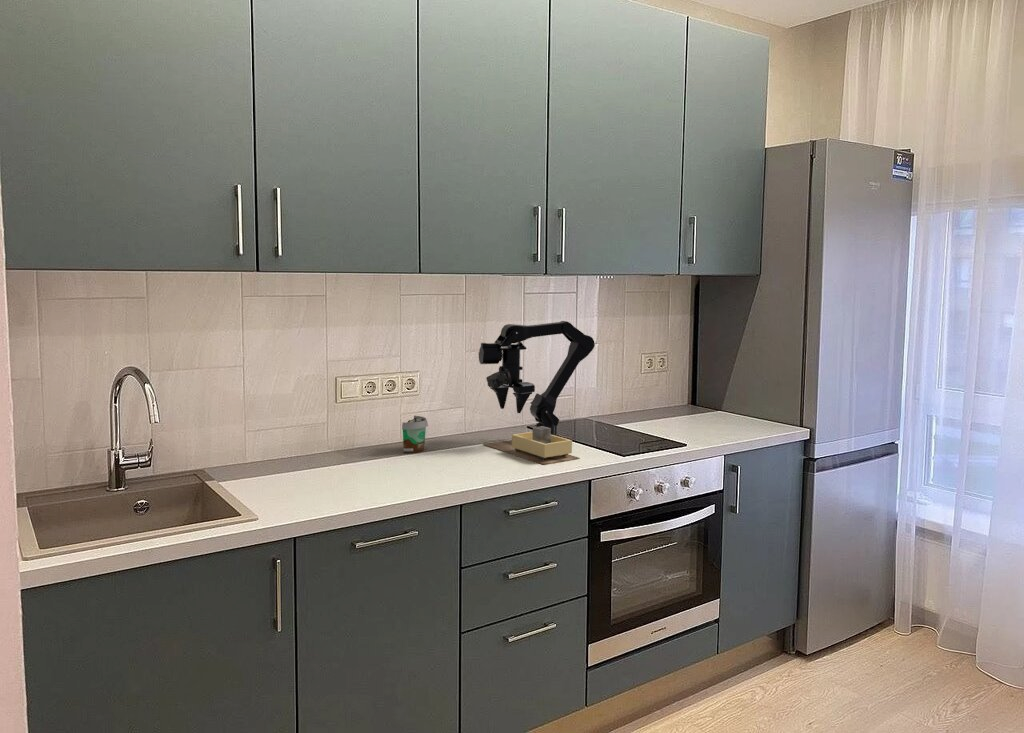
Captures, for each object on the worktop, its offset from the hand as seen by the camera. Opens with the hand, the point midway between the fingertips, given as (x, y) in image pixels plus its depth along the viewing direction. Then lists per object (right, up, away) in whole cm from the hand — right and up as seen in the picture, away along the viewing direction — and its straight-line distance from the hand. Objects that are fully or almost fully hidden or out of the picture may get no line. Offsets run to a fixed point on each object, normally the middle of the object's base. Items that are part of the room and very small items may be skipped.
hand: (510, 410), depth 273 cm
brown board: (+6, -12, -9) cm, 16 cm away
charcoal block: (+10, -10, -14) cm, 20 cm away
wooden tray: (+10, -13, -13) cm, 21 cm away
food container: (-29, -12, -10) cm, 33 cm away
